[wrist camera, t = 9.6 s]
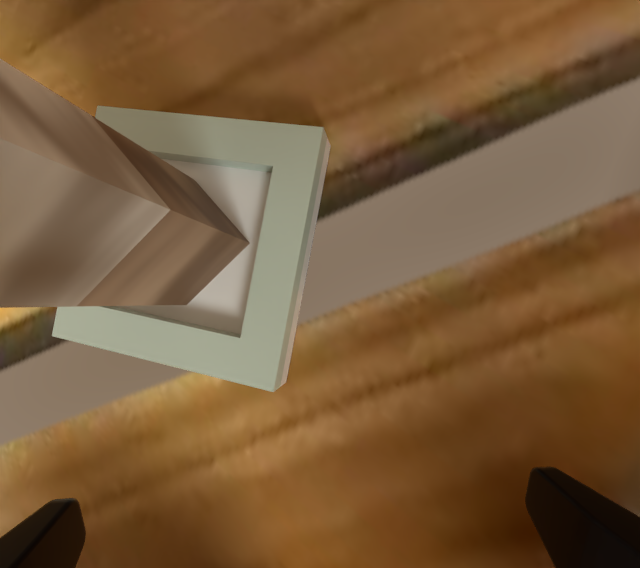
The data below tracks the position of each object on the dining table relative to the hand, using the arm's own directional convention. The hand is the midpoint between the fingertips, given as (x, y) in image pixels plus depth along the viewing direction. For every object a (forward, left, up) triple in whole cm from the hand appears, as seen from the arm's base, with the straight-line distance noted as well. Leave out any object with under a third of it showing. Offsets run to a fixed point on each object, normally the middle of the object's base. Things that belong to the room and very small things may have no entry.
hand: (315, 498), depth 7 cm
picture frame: (+5, +10, -10) cm, 15 cm away
